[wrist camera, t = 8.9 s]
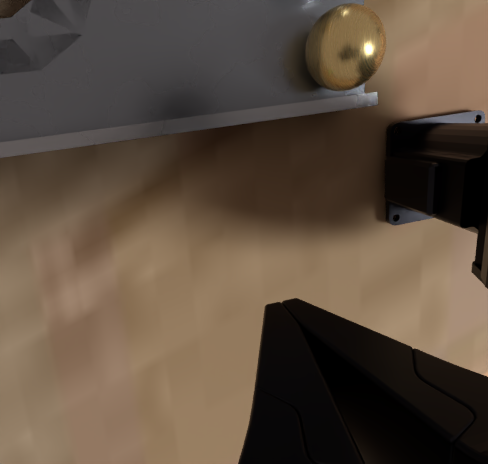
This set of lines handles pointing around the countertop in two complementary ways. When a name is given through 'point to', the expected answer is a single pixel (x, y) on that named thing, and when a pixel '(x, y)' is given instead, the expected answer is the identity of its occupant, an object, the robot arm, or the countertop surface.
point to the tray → (156, 69)
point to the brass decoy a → (345, 47)
